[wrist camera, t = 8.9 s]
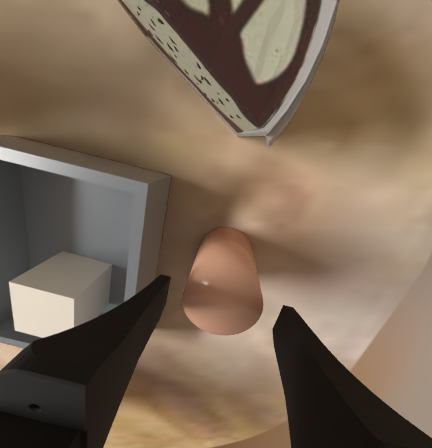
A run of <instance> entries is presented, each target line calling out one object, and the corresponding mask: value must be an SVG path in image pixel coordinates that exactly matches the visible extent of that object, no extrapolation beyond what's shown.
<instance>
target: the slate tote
mask: <svg viewBox="0 0 432 448" xmlns="http://www.w3.org/2000/svg"><path fill="white" fill-rule="evenodd" d="M171 177H172V175H168V174H164V173H160V172H156V171H152V170H148V169H144V168H140V167H136V166H132V165H128V164H124V163H120V162H116V161H112V160H108V159H104V158H100V157H96V156H92V155H88V154H84V153H80V152H76V151H72V150H68V149H64V148H60V147H56V146H52V145H49V144H45V143H41V142H37V141H33V140H29V139H25V138H21V137H17V136H8V135H0V343H4V344H8V345H12V346H16V347H20V348H26V347H27V346H28V345H29V344H31V343H32V342H33V341H35V340H38V339H41V338H42V337H38V336H34V335H30V334H26V333H22V332H19V331H15V328H14V320H13V312H12V304H11V296H10V288H9V281H11V280H13V279H15V278H16V277H18V276H20V275H22V274H23V273H25V272H27V271H29V270H30V269H32V268H34V267H36V266H37V265H39V264H41V263H43V262H44V261H46V260H48V259H50V258H51V257H53V256H55V255H57V254H58V253H60V252H62V251H64V252H68V253H72V254H76V255H79V256H83V257H87V258H91V259H94V260H98V261H102V262H106V263H109V264H112V272H111V283H110V294H109V304H108V305H107V306H106V307H105V309H104V310H103V311H102V312H101V313H100V315H102V314H104V313H106V312H108V311H110V310H112V309H113V308H115V307H117V306H119V305H120V304H122V303H123V302H125V301H126V300H128V299H129V298H131V297H132V296H134V295H135V294H137V293H138V292H139V291H141V290H142V289H143V288H145V287H146V286H147V285H149V284H150V283H151V282H152V281H153V280H155V279H156V273H157V266H158V260H159V254H160V247H161V241H162V234H163V228H164V222H165V215H166V209H167V202H168V196H169V190H170V183H171ZM100 315H99V316H100Z"/></svg>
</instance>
